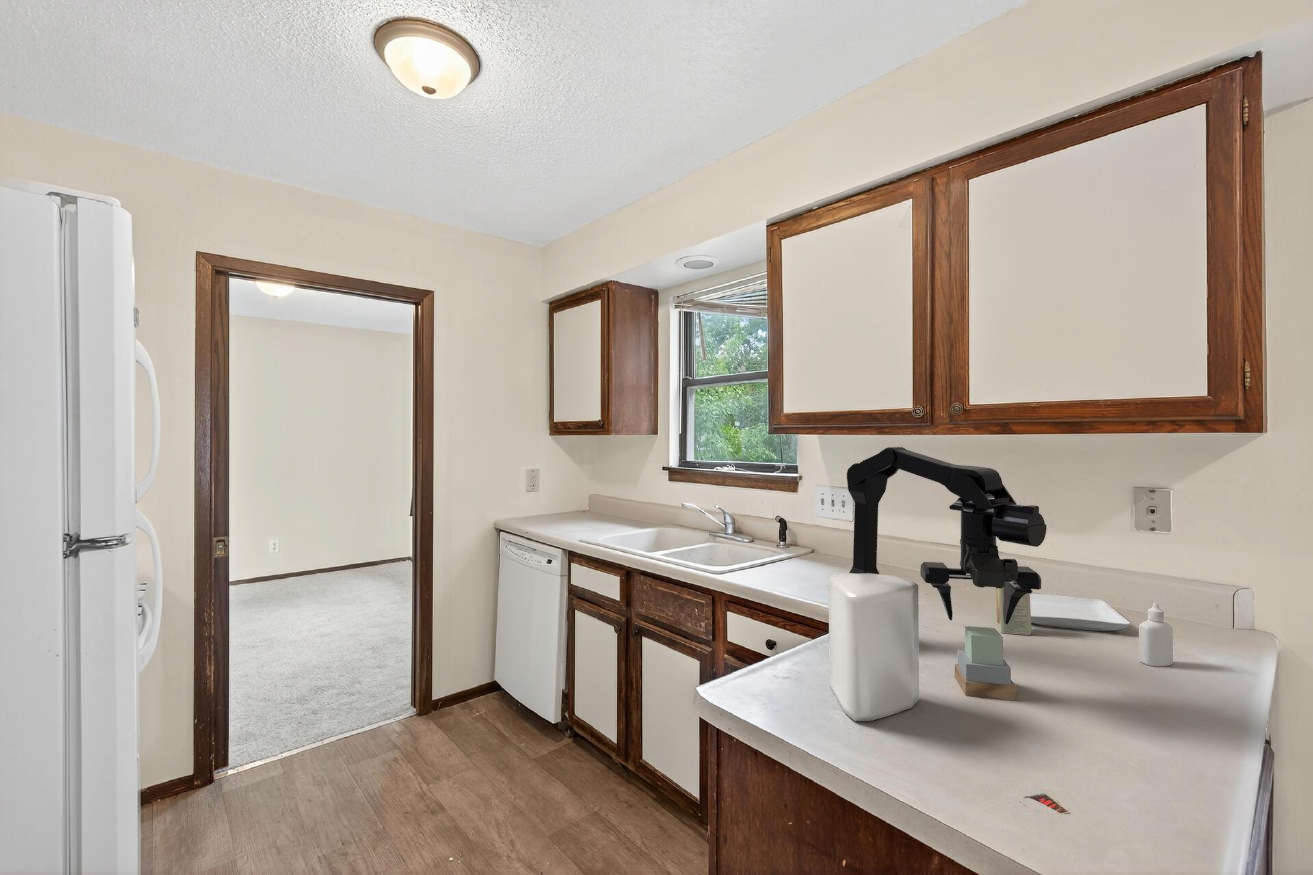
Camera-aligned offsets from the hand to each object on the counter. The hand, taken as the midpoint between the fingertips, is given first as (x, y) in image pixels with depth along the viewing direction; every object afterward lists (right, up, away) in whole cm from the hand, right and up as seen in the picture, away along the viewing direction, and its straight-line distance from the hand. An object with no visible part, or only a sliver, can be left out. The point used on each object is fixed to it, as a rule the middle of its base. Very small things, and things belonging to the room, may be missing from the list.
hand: (977, 621), depth 107 cm
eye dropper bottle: (+40, -11, +9) cm, 43 cm away
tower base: (+1, -12, -1) cm, 12 cm away
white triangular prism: (-20, -12, -6) cm, 25 cm away
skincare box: (+23, -11, +28) cm, 38 cm away
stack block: (0, -6, -2) cm, 6 cm away
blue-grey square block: (0, -9, -1) cm, 9 cm away
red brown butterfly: (-10, -13, -34) cm, 38 cm away
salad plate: (+41, -11, +36) cm, 56 cm away
